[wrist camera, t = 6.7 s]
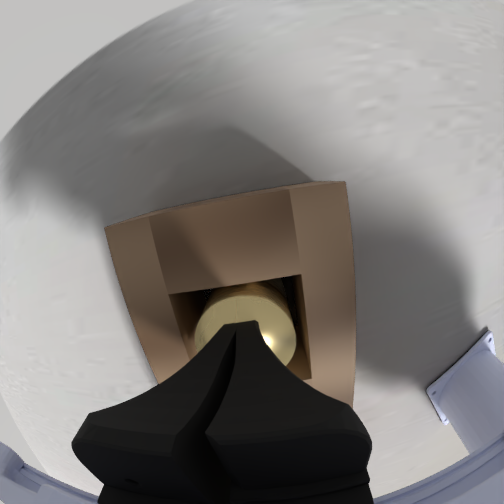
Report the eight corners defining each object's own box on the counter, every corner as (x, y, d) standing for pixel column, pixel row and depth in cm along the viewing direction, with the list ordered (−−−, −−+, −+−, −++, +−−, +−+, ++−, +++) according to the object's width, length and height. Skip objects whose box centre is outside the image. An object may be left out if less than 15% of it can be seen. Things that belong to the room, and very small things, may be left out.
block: (331, 444, 19) (341, 487, 14) (233, 457, 19) (229, 500, 15) (315, 181, 14) (345, 181, 9) (150, 212, 14) (104, 227, 9)
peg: (288, 319, 15) (300, 374, 11) (221, 329, 16) (208, 385, 11) (279, 254, 14) (290, 290, 10) (205, 266, 15) (182, 305, 10)
